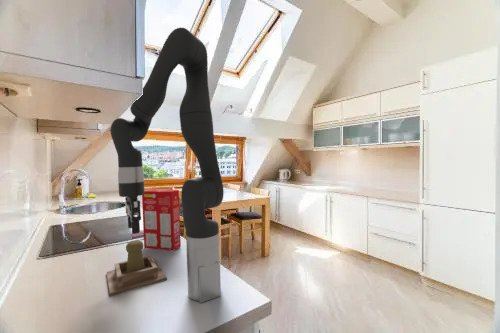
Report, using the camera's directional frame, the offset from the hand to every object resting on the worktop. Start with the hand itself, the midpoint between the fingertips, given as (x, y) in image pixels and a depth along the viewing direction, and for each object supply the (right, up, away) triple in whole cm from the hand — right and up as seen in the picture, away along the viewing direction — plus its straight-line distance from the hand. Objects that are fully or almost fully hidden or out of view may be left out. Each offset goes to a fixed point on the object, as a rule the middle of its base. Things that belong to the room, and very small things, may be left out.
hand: (133, 230), depth 80 cm
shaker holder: (0, -16, +1) cm, 16 cm away
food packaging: (0, -15, +28) cm, 32 cm away
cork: (0, -15, +1) cm, 15 cm away
